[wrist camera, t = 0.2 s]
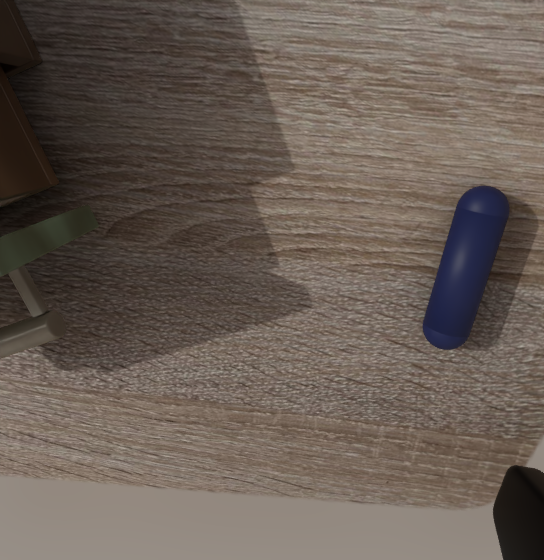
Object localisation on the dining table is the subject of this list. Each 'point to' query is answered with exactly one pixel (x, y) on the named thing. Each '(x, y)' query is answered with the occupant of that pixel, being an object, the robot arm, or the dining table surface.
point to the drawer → (38, 237)
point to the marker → (465, 266)
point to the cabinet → (15, 41)
